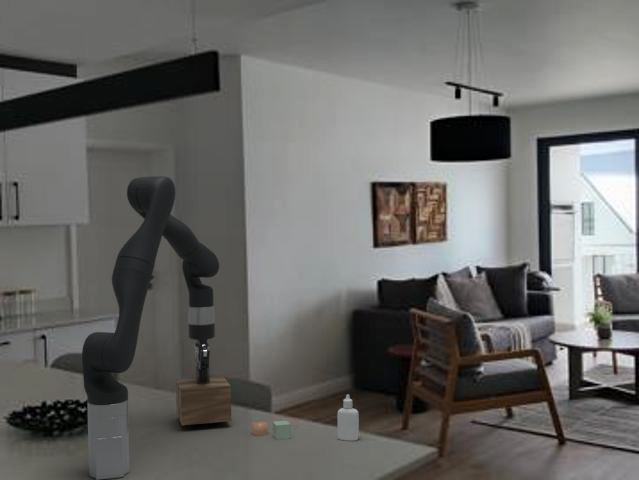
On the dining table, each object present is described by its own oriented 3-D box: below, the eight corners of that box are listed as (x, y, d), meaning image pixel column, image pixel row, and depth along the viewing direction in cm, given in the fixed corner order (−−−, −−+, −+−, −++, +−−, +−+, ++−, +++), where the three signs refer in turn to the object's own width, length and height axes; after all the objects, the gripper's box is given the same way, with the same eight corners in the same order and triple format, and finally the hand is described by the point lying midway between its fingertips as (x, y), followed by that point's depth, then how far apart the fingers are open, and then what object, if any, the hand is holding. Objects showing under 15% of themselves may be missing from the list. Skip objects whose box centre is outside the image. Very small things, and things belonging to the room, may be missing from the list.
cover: (231, 420, 209) (230, 370, 208) (181, 425, 204) (180, 374, 204) (223, 408, 222) (222, 361, 221) (176, 412, 218) (175, 364, 217)
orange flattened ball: (269, 435, 201) (269, 424, 201) (253, 437, 200) (253, 426, 200) (266, 431, 205) (265, 420, 205) (250, 432, 204) (250, 421, 204)
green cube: (291, 438, 198) (290, 424, 198) (276, 440, 197) (276, 425, 196) (287, 434, 202) (286, 420, 202) (273, 436, 200) (272, 421, 200)
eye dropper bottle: (346, 435, 200) (345, 391, 200) (361, 439, 196) (361, 395, 196) (335, 438, 197) (334, 394, 197) (350, 443, 193) (349, 398, 193)
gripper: (218, 324, 207) (219, 384, 207) (210, 317, 220) (211, 374, 221) (191, 325, 204) (192, 387, 205) (185, 319, 218) (186, 376, 218)
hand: (202, 380), depth 213 cm, fingers closed on cover, 3 cm apart
